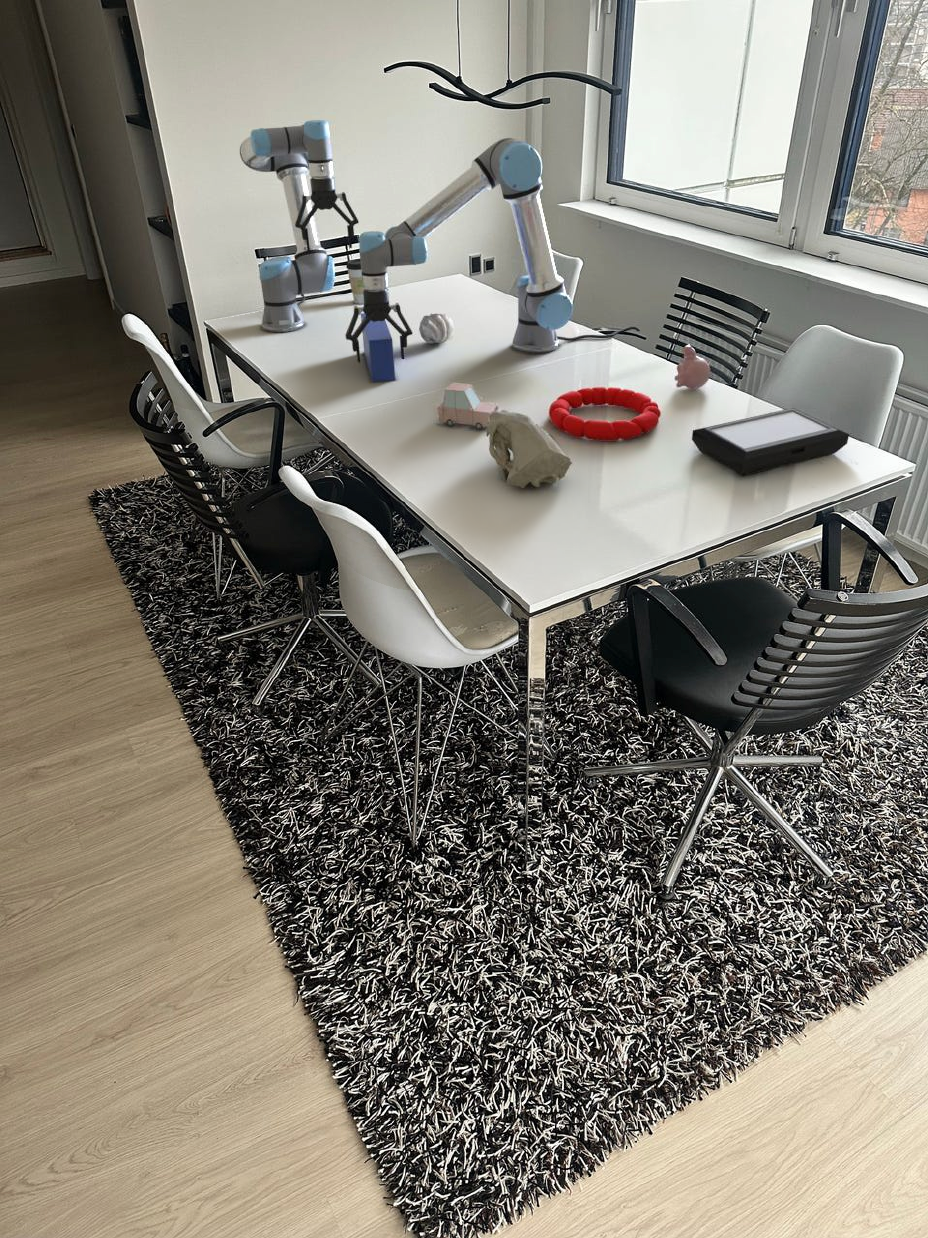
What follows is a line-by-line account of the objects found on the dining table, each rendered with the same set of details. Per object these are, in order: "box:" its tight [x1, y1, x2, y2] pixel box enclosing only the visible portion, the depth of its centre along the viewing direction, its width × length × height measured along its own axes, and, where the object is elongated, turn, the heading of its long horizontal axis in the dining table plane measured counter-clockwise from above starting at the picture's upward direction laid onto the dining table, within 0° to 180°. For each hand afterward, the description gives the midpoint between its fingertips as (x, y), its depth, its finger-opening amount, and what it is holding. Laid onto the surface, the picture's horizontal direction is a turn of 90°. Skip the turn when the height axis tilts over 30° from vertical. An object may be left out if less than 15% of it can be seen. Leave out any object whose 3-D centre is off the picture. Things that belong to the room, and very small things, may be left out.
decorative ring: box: [548, 386, 661, 442], centre depth 242 cm, size 7×30×30 cm
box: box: [360, 312, 396, 383], centre depth 284 cm, size 30×7×13 cm, turn 10°
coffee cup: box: [346, 258, 364, 305], centre depth 347 cm, size 10×10×15 cm
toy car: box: [437, 382, 499, 431], centre depth 243 cm, size 9×15×10 cm, turn 70°
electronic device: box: [691, 407, 850, 477], centre depth 222 cm, size 32×6×20 cm
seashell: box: [418, 312, 454, 344], centre depth 302 cm, size 10×15×10 cm
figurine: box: [674, 344, 711, 390], centre depth 259 cm, size 9×11×12 cm
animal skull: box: [485, 409, 573, 489], centre depth 216 cm, size 17×25×20 cm
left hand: (329, 248), depth 291 cm, fingers open, 13 cm apart
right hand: (380, 359), depth 275 cm, fingers open, 13 cm apart
